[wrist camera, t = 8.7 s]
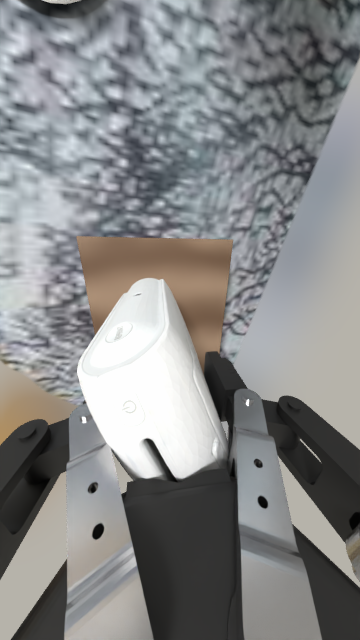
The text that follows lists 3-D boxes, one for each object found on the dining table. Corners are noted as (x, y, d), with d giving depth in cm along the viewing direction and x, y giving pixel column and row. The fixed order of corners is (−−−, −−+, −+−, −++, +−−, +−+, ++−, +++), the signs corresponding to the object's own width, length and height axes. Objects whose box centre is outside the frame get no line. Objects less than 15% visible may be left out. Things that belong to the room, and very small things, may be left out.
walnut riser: (91, 237, 19) (76, 236, 15) (219, 240, 21) (233, 239, 17) (111, 362, 25) (104, 383, 22) (208, 356, 27) (216, 374, 24)
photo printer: (116, 287, 15) (2, 421, 4) (163, 268, 15) (186, 351, 4) (163, 375, 19) (172, 560, 8) (200, 361, 19) (262, 530, 8)
